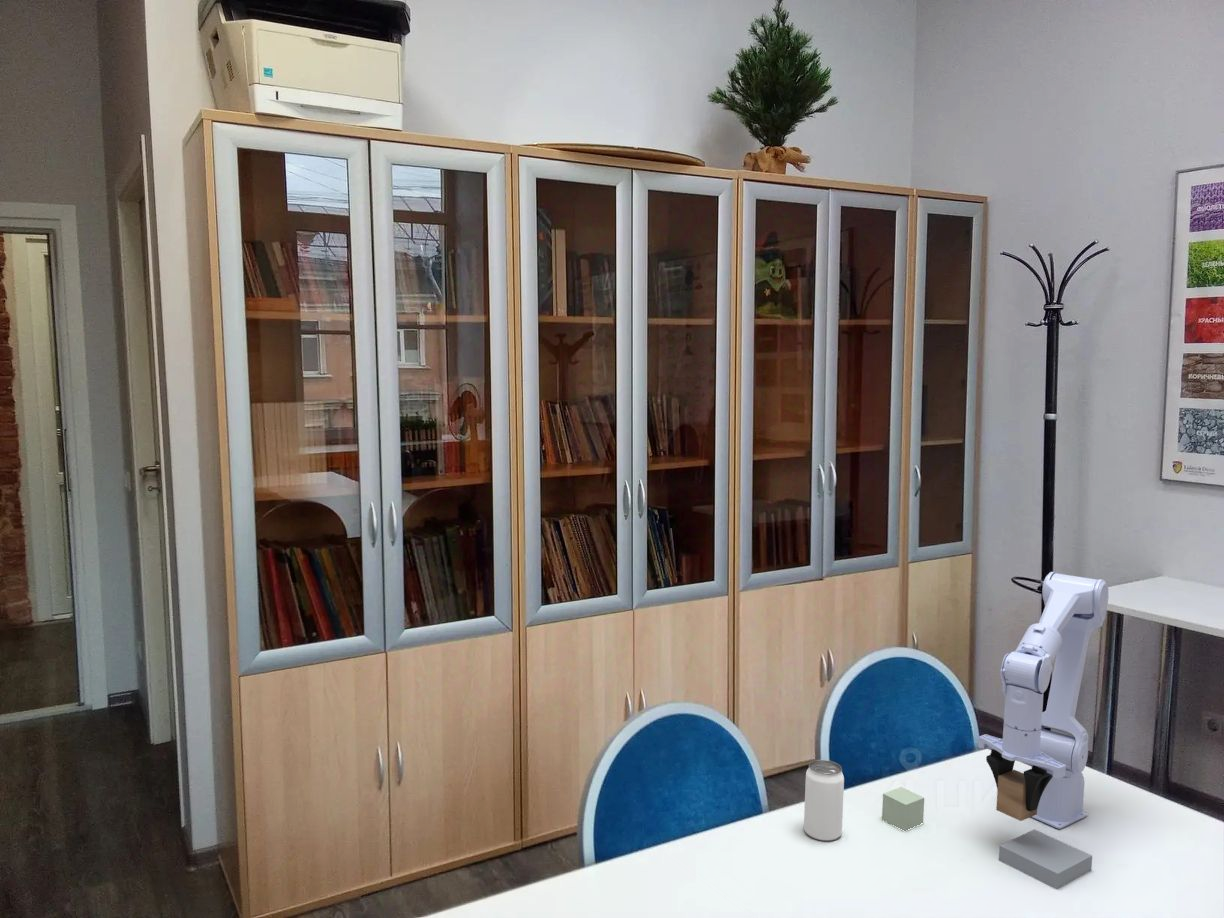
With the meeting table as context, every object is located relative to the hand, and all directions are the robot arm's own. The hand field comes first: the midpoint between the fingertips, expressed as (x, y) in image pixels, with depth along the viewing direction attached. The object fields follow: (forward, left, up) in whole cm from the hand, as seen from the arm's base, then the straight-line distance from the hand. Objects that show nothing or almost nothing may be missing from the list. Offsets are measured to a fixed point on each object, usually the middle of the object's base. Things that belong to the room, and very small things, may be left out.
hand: (1017, 803), depth 152 cm
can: (+23, -22, -9) cm, 33 cm away
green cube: (+8, -17, -8) cm, 20 cm away
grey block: (0, +5, -9) cm, 10 cm away
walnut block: (0, 0, -2) cm, 2 cm away
